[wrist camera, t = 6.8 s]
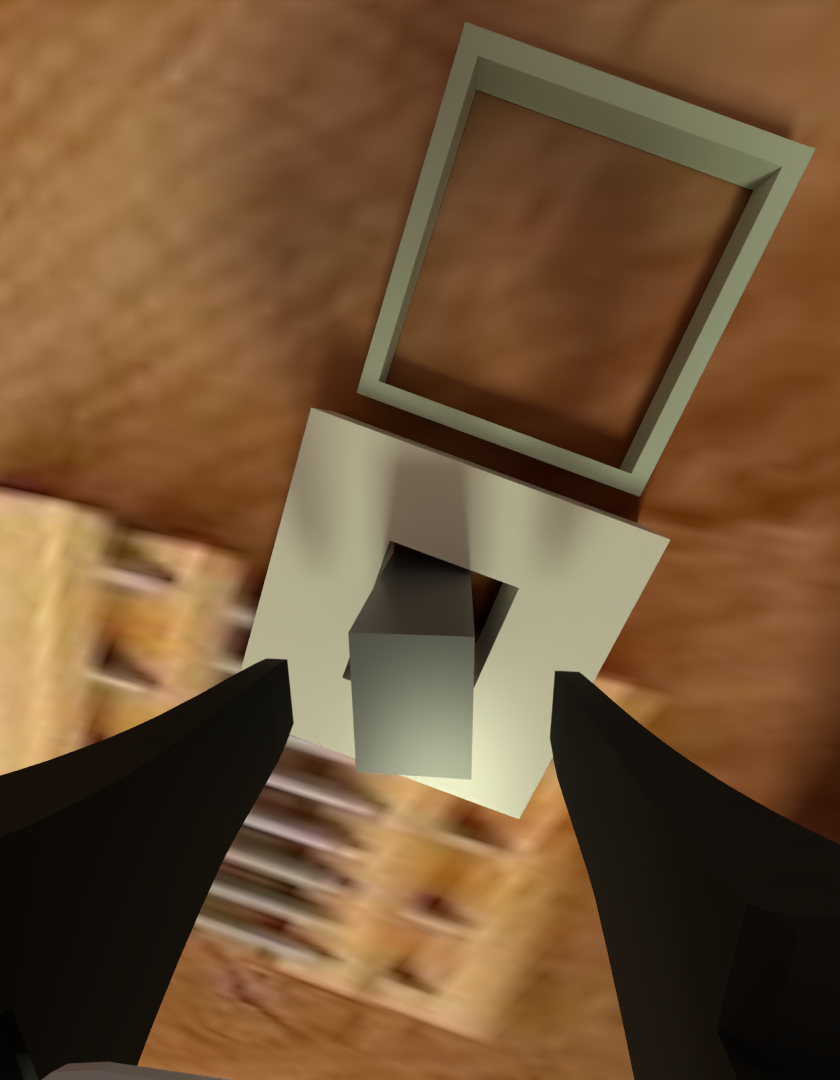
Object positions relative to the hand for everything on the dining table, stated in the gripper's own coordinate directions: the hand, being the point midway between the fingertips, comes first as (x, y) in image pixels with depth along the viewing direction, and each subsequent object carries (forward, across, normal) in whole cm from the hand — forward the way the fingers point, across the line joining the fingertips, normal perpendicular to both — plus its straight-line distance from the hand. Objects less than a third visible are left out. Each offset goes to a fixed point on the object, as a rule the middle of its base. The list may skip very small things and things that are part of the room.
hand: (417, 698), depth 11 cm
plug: (+6, 0, 0) cm, 6 cm away
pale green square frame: (+6, -4, -11) cm, 13 cm away
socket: (+6, 0, 0) cm, 6 cm away
